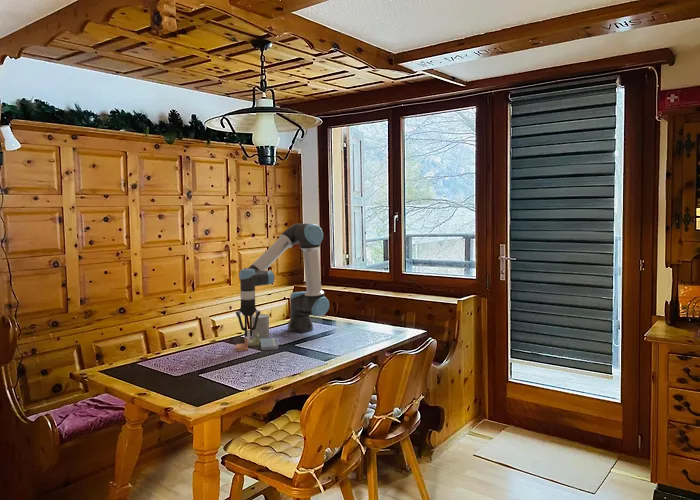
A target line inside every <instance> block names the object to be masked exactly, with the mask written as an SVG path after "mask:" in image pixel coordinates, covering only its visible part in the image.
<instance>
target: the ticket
mask: <svg viewBox="0 0 700 500" xmlns="http://www.w3.org/2000/svg"><path fill="white" fill-rule="evenodd" d="M259 340H260V350H261V351H269V350H279V347H280V346H279V342H278V338H277V337H269V338H263V339H259Z"/></svg>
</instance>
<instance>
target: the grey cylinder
mask: <svg viewBox="0 0 700 500" xmlns="http://www.w3.org/2000/svg"><path fill="white" fill-rule="evenodd" d="M255 317H256V314H253V315H252V327H253V326H254V322H255ZM269 317H270V315H269V314H265V313H260V314H259V316H258V320H257V325H256V329H255V330H252V337H251V339H257V333H259V340H260V339H263V338H270V318H269Z"/></svg>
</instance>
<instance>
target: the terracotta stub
mask: <svg viewBox="0 0 700 500" xmlns="http://www.w3.org/2000/svg"><path fill="white" fill-rule="evenodd" d="M248 350H249V346H248V344H247V337H244V343H236V344H235V352H239V351H240V352H243V351H248Z"/></svg>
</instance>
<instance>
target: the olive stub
mask: <svg viewBox="0 0 700 500" xmlns="http://www.w3.org/2000/svg"><path fill="white" fill-rule="evenodd" d="M250 346H251V347H252V346H255V347H257V346H261V343H260V339H259V333H257V339H254V338H250V343H249V344H248V347H250Z"/></svg>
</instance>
